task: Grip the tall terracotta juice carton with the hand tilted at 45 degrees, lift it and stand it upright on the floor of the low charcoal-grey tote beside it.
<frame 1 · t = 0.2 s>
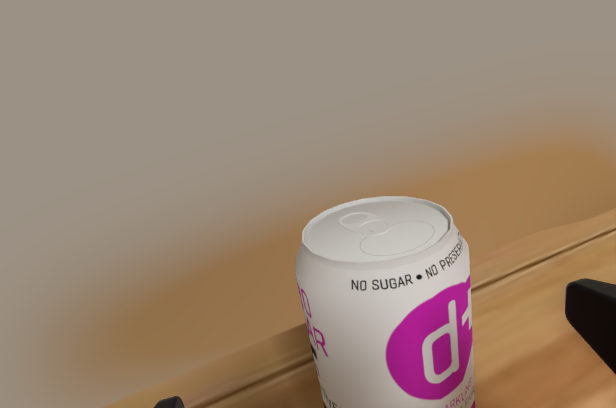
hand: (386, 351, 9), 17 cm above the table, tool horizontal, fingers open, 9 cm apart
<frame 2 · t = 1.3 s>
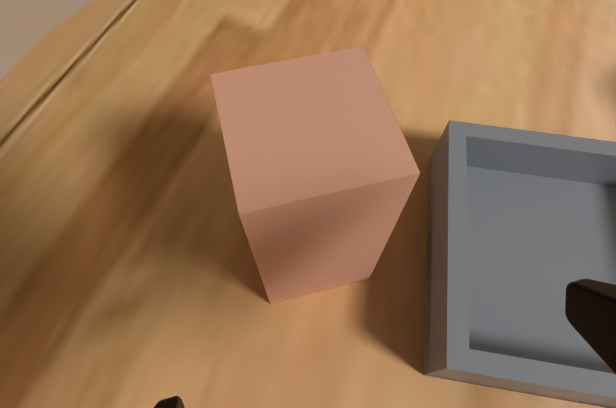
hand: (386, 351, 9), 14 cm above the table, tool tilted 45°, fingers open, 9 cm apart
tote: (545, 270, 24), on the table
carton: (307, 244, 25), on the table
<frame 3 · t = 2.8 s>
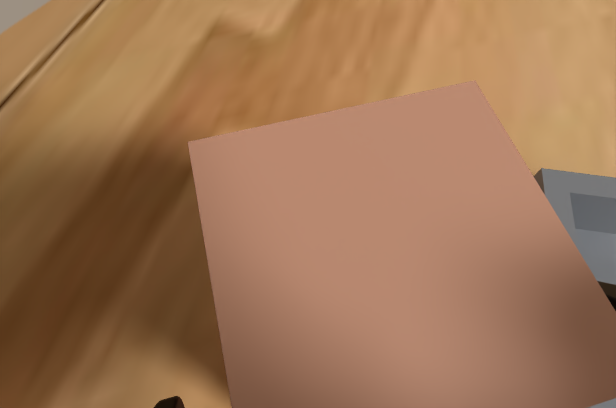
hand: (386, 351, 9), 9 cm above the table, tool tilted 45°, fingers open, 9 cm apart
carton: (339, 344, 17), on the table
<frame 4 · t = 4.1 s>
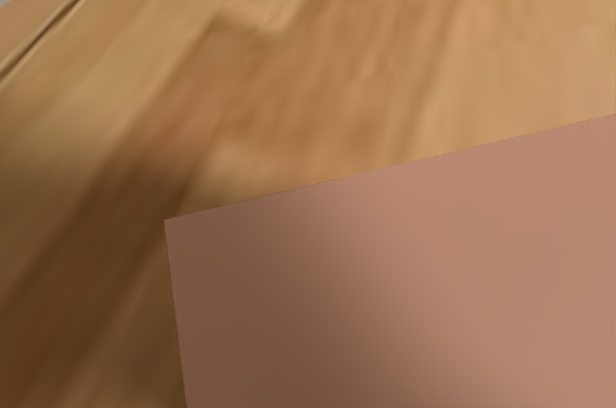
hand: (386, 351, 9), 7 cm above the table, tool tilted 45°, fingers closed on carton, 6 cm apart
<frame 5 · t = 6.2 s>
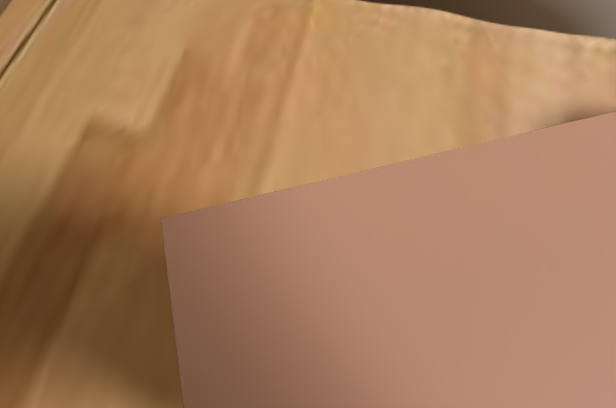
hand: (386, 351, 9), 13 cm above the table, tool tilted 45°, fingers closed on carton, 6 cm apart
when the fingers open (9 cm above the table, at t = 8.4 s): carton drops 1 cm, resting on tote.
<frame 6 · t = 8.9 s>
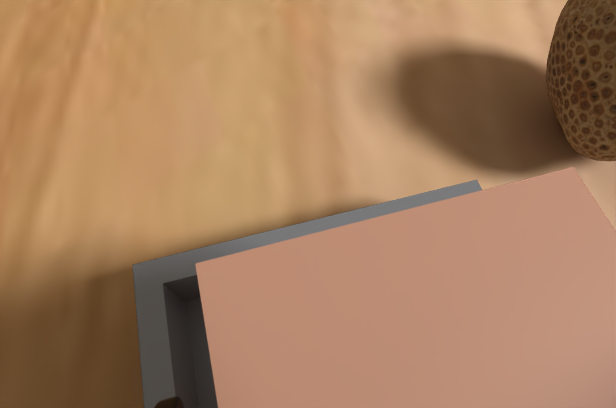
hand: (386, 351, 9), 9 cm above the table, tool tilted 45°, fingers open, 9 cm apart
natural sponge: (584, 127, 23), on the table
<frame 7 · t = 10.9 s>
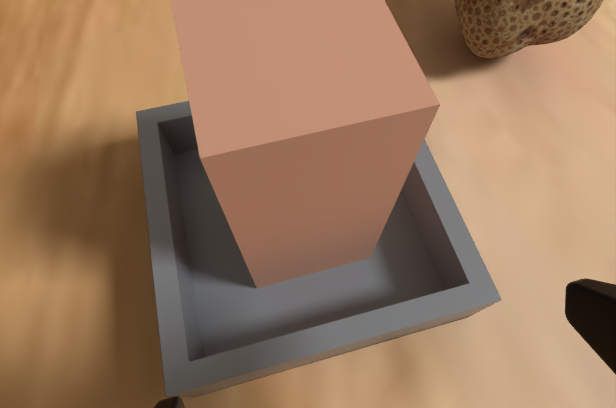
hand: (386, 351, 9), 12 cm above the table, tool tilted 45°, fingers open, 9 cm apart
natural sponge: (491, 45, 29), on the table
tote: (299, 227, 23), on the table
carton: (299, 220, 22), point 1 cm above the table, touching tote
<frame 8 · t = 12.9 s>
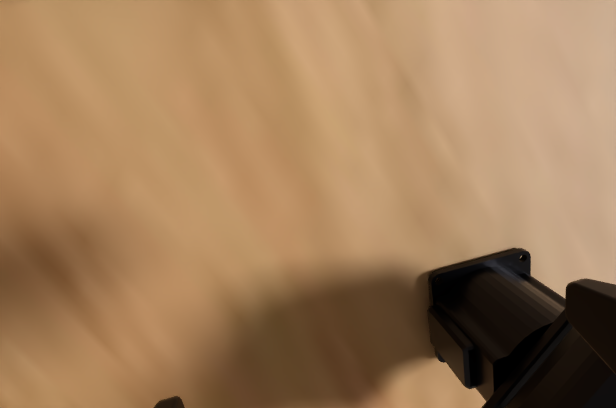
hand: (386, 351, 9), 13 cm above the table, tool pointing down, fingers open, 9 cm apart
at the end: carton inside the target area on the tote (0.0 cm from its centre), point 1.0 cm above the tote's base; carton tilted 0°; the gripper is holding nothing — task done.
